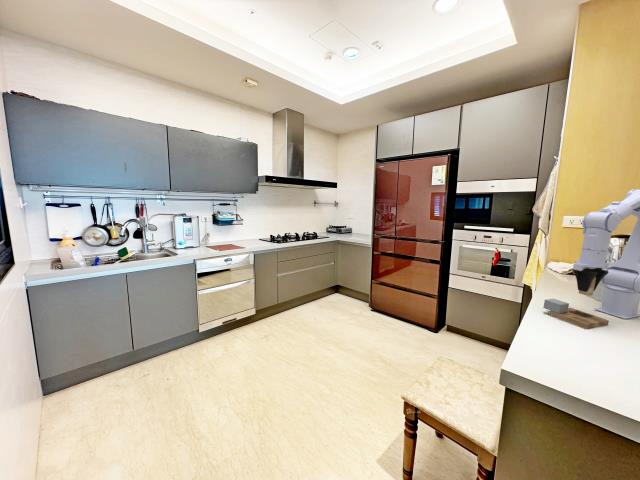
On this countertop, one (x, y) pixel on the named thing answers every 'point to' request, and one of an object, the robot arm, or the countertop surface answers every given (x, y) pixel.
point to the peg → (591, 289)
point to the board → (580, 318)
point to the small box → (599, 292)
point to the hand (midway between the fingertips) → (586, 290)
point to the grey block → (556, 305)
